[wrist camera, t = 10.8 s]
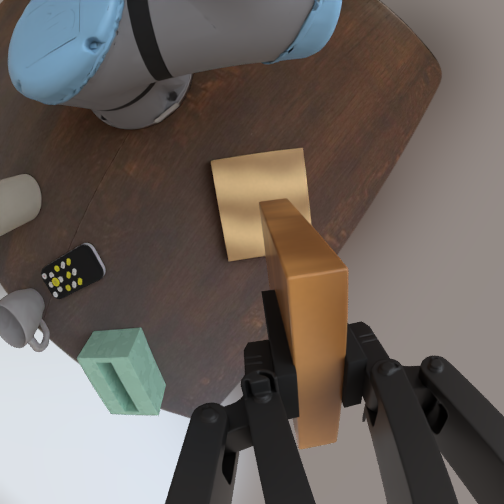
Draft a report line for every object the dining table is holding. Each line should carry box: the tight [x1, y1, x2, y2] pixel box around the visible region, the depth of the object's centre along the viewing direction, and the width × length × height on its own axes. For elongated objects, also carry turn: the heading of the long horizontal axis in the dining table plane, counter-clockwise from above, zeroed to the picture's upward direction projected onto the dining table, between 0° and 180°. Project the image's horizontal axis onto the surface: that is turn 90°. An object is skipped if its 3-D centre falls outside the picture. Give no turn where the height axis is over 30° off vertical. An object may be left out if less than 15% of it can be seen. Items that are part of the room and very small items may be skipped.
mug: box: [0, 288, 50, 352], centre depth 40 cm, size 12×9×10 cm
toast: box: [259, 198, 348, 449], centre depth 16 cm, size 2×10×12 cm, turn 8°
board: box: [211, 148, 311, 261], centre depth 40 cm, size 14×12×2 cm
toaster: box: [77, 328, 166, 415], centre depth 46 cm, size 10×16×8 cm, turn 8°
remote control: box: [41, 243, 106, 299], centre depth 41 cm, size 6×13×2 cm, turn 113°
